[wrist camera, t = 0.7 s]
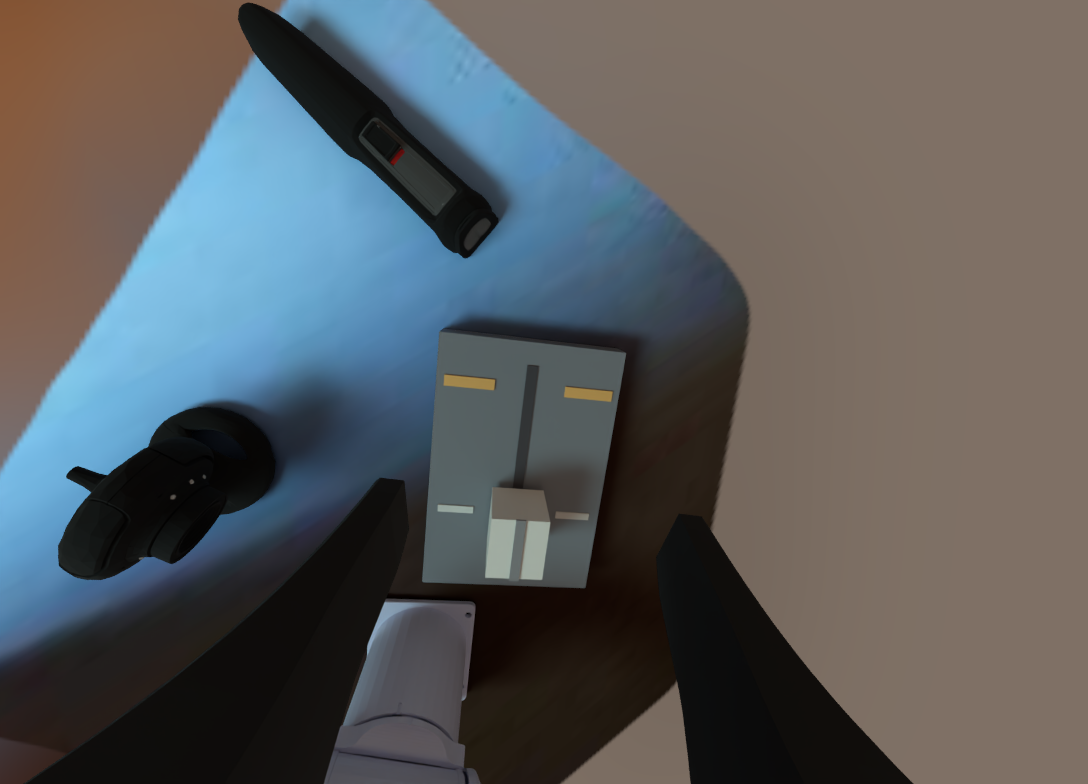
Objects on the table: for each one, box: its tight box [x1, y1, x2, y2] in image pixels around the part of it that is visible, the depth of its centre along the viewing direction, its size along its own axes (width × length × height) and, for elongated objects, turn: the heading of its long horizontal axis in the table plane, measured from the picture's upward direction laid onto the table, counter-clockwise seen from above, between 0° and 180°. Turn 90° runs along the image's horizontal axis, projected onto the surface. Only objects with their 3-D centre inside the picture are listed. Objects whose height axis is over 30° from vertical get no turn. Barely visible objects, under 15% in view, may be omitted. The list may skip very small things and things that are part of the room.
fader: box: [485, 487, 550, 581], centre depth 27 cm, size 4×4×4 cm
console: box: [422, 328, 626, 588], centre depth 30 cm, size 18×12×2 cm, turn 173°
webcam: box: [58, 407, 275, 580], centre depth 24 cm, size 8×8×10 cm
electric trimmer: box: [238, 3, 498, 258], centre depth 24 cm, size 4×16×3 cm, turn 47°
